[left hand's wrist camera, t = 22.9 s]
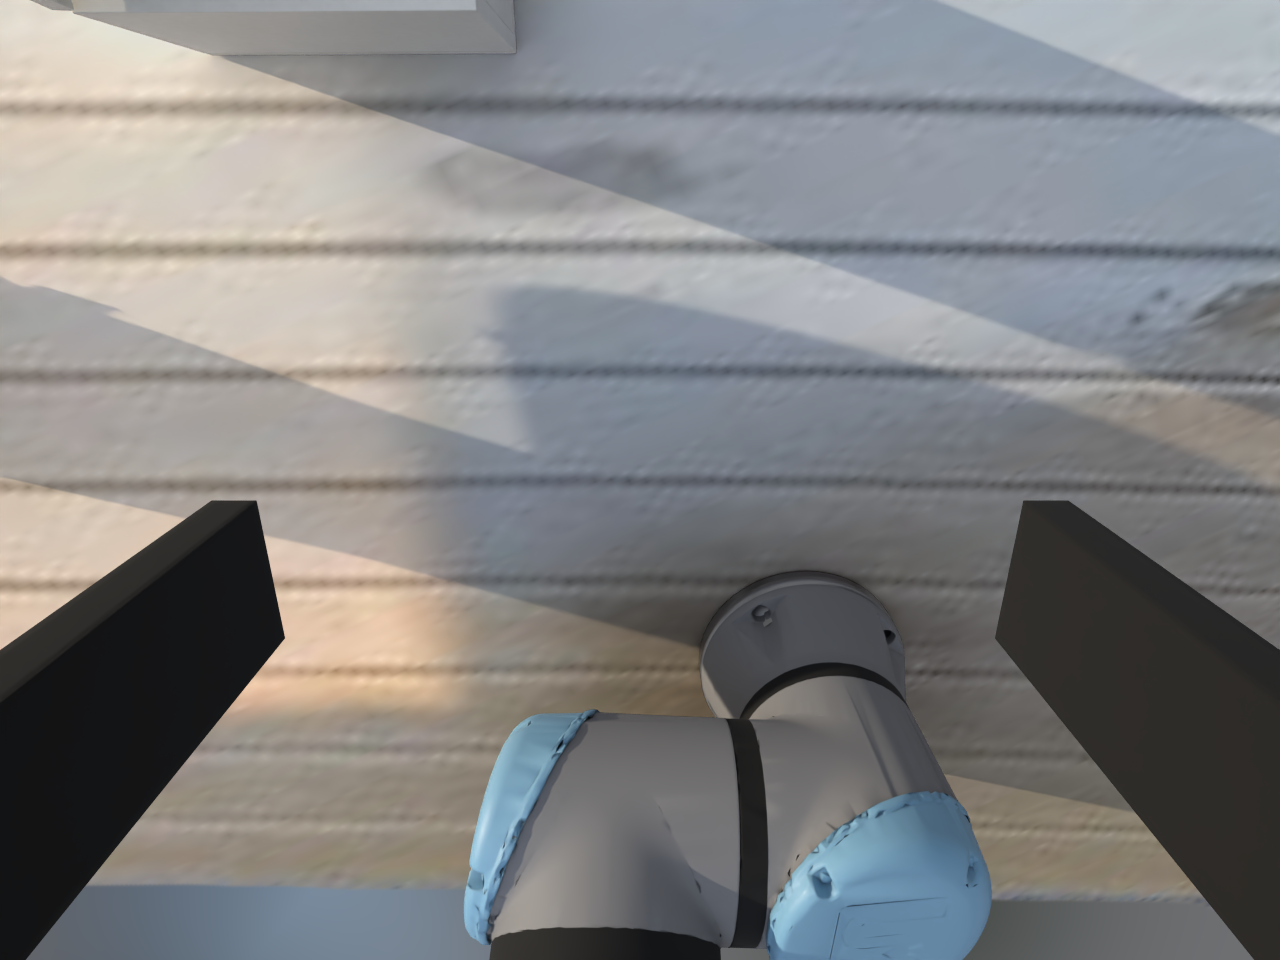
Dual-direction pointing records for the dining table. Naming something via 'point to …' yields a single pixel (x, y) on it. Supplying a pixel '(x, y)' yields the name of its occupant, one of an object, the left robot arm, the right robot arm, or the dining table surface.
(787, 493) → the dining table surface
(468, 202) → the dining table surface
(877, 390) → the dining table surface
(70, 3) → the lid
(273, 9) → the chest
